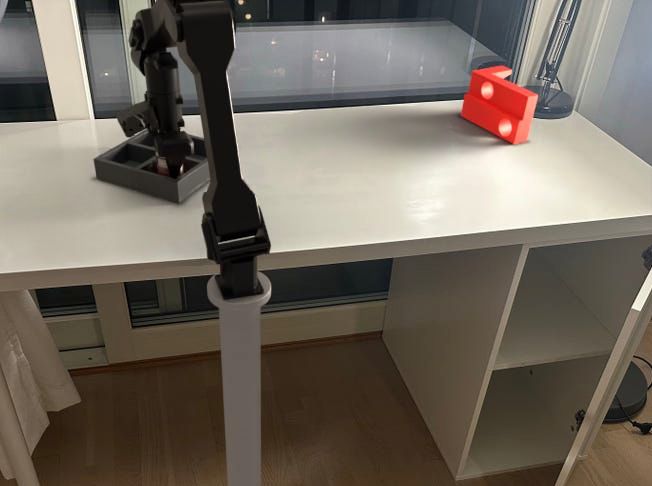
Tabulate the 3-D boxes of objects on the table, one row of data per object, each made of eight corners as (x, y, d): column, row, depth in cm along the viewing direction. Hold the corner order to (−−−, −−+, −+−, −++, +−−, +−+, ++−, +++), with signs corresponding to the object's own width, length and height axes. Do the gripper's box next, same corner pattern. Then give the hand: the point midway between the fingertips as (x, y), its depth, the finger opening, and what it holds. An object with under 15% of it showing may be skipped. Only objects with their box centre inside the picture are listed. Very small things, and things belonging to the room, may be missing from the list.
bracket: (469, 71, 160) (502, 65, 164) (460, 115, 167) (492, 109, 171) (525, 97, 149) (559, 90, 153) (513, 144, 155) (546, 136, 159)
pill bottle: (166, 175, 136) (162, 132, 130) (188, 179, 135) (185, 137, 129) (154, 185, 132) (149, 142, 127) (177, 190, 131) (173, 147, 126)
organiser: (232, 164, 142) (232, 145, 140) (179, 203, 129) (177, 182, 127) (155, 144, 148) (153, 125, 146) (96, 179, 135) (93, 158, 133)
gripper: (109, 74, 127) (121, 156, 137) (123, 112, 113) (134, 200, 124) (171, 70, 130) (178, 150, 140) (191, 106, 116) (197, 193, 126)
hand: (171, 172), depth 132 cm, fingers open, 5 cm apart
